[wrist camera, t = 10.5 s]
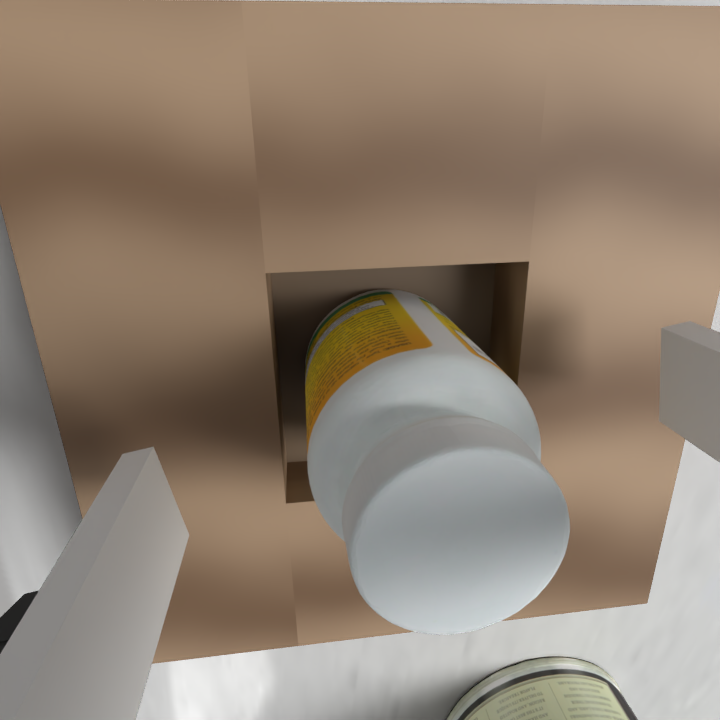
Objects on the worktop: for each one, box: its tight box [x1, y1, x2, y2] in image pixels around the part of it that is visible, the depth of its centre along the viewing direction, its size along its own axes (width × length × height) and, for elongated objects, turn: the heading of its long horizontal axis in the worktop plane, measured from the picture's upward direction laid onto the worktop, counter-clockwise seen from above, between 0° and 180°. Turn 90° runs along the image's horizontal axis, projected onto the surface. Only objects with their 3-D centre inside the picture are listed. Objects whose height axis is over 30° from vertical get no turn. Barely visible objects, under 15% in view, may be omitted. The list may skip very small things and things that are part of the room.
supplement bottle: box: [305, 289, 570, 635], centre depth 13 cm, size 5×5×10 cm
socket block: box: [0, 0, 720, 664], centre depth 17 cm, size 20×20×4 cm
